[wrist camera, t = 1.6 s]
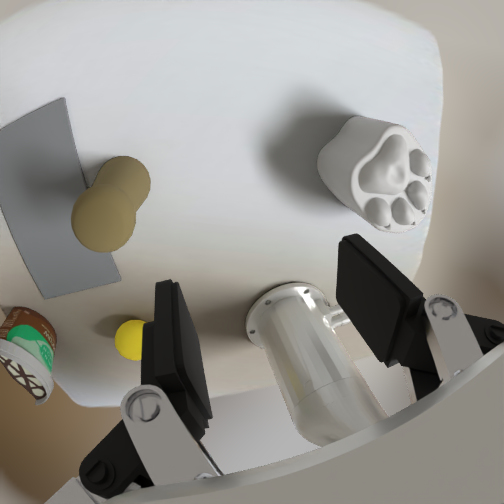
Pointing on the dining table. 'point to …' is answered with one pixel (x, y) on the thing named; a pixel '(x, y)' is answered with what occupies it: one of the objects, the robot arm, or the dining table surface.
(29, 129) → the mat
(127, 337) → the lemon
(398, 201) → the lumpy-topped squat cylinder
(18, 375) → the food container
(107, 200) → the cork
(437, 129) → the dining table surface
